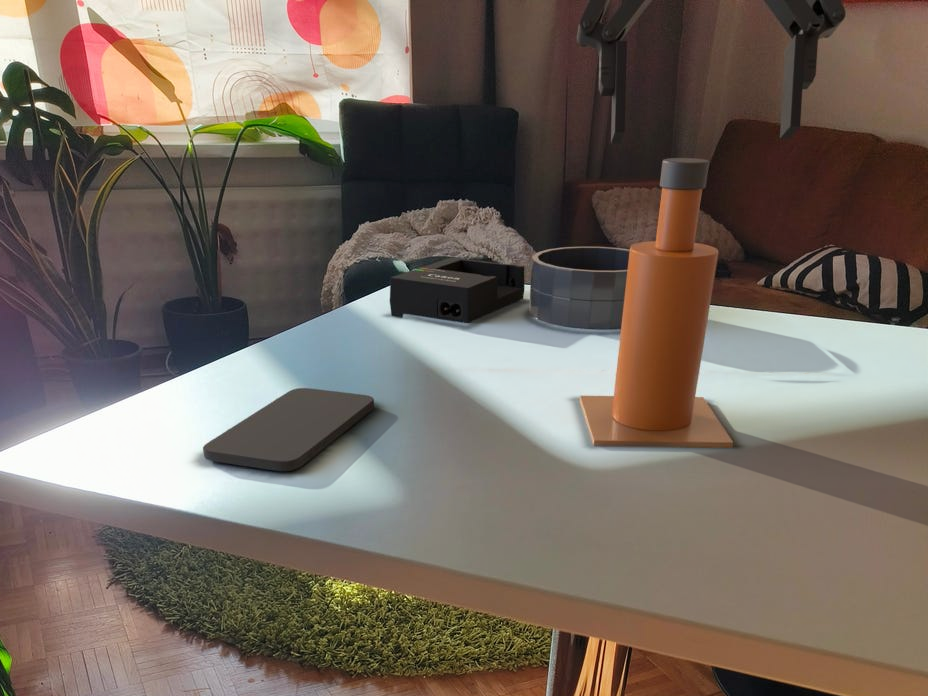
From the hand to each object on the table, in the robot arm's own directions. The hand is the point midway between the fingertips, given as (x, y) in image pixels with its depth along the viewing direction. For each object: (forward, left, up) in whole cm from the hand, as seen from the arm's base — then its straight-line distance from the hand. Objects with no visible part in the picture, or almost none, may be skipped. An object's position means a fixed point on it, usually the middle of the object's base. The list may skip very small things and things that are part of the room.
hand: (703, 136), depth 71 cm
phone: (+31, +19, -18) cm, 41 cm away
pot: (+5, -16, -18) cm, 25 cm away
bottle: (+4, +16, -18) cm, 24 cm away
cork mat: (+4, +16, -18) cm, 24 cm away
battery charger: (+20, -19, -18) cm, 33 cm away
